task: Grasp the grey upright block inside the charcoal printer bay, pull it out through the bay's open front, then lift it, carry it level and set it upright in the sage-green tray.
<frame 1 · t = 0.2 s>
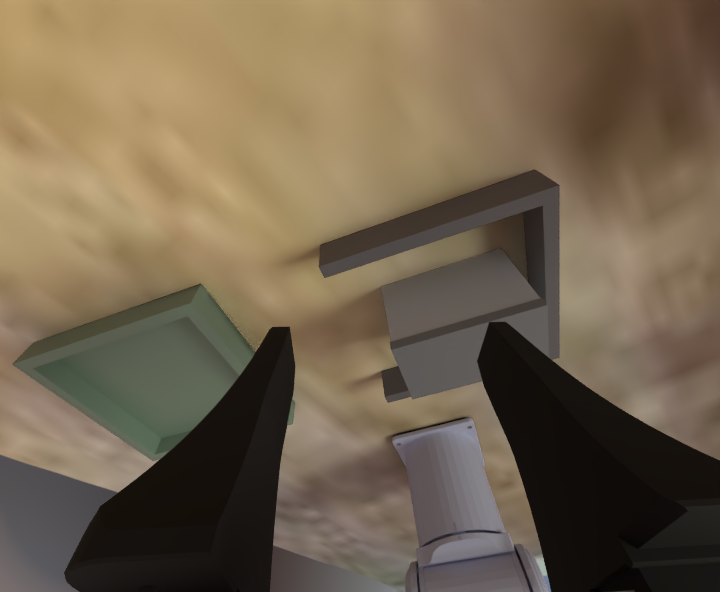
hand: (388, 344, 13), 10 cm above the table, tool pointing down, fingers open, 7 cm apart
grey upright block: (445, 292, 24), on the table
printer bay: (438, 296, 24), on the table
tray: (178, 376, 27), on the table
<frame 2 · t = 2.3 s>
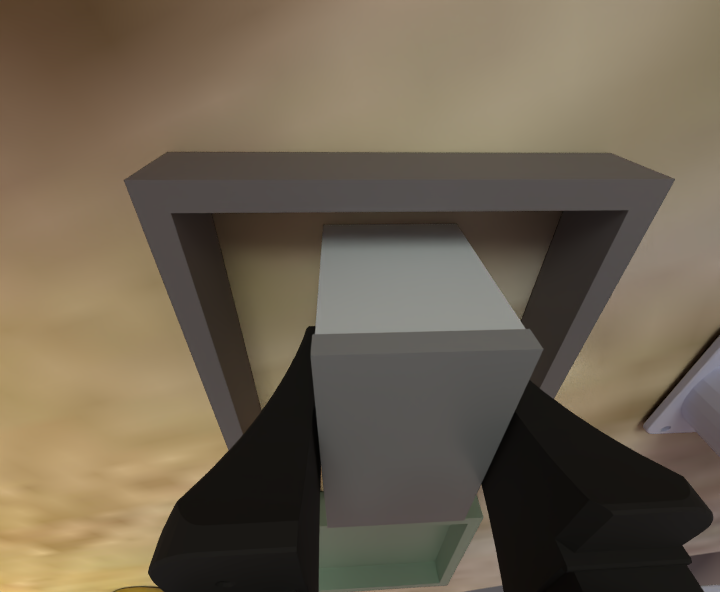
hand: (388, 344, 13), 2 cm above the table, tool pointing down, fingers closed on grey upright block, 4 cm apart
grey upright block: (383, 316, 14), on the table, touching gripper
printer bay: (383, 325, 14), on the table
tray: (368, 530, 27), on the table
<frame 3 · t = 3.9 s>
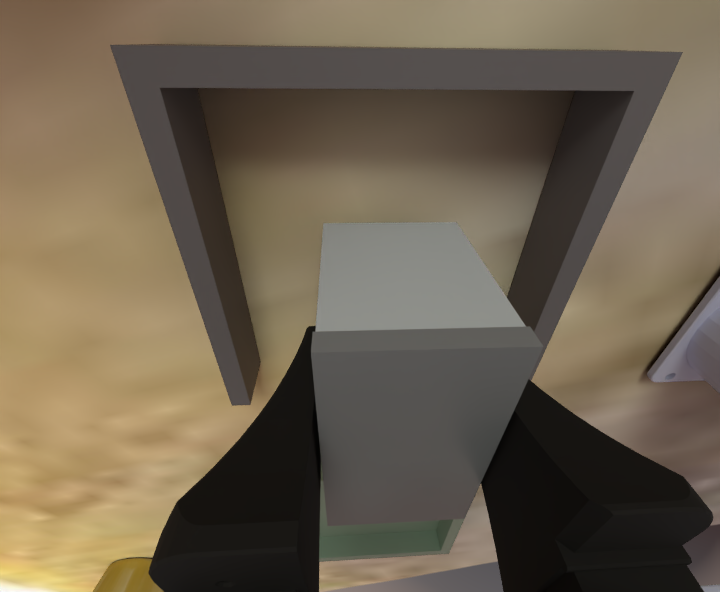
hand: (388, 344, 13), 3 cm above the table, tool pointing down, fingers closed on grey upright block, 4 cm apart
grey upright block: (383, 314, 14), point 1 cm above the table, touching gripper
plant pot: (147, 567, 33), on the table
printer bay: (382, 254, 14), on the table
tray: (368, 495, 26), on the table
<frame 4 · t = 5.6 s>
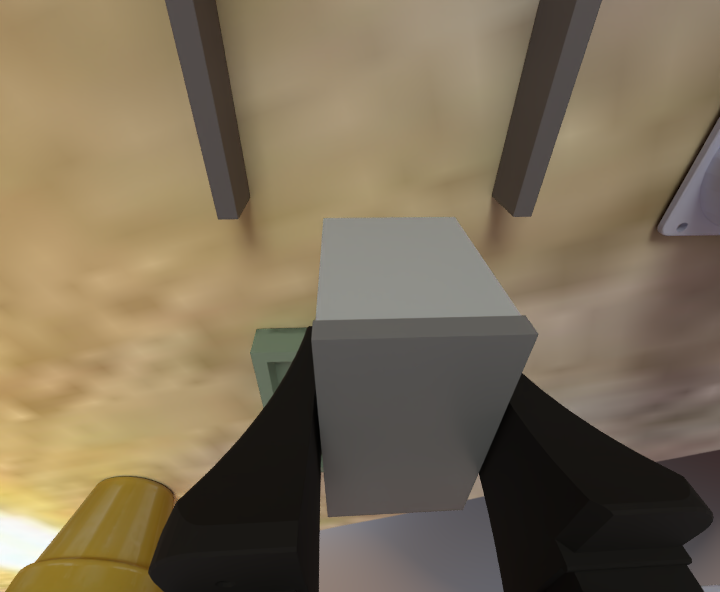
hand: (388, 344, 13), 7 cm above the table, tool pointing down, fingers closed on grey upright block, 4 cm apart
grey upright block: (383, 309, 14), point 5 cm above the table, touching gripper
plant pot: (136, 491, 32), on the table
printer bay: (379, 40, 13), on the table
tray: (365, 395, 25), on the table
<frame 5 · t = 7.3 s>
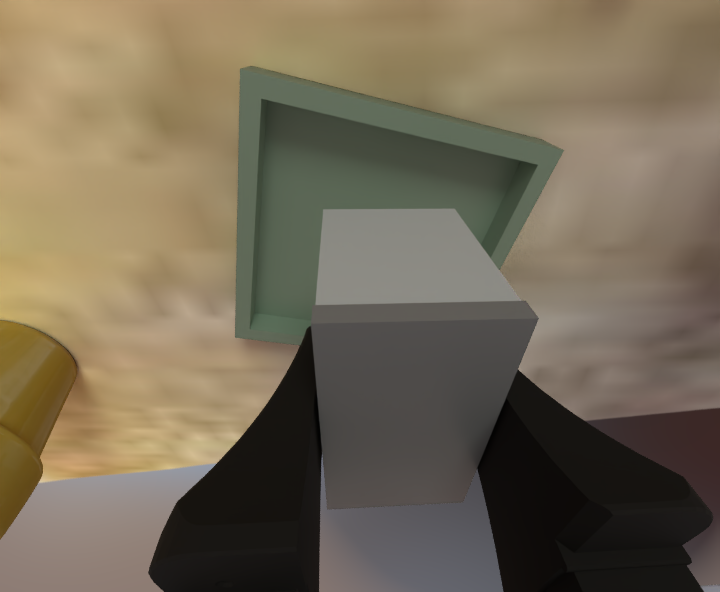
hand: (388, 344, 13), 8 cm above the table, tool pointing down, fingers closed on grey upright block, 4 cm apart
grey upright block: (383, 302, 14), point 6 cm above the table, touching gripper
plant pot: (23, 354, 23), on the table
tray: (371, 240, 19), on the table
when the fingers open (4 cm above the table, at t = 8.9 s): grey upright block drops 1 cm, resting on tray.
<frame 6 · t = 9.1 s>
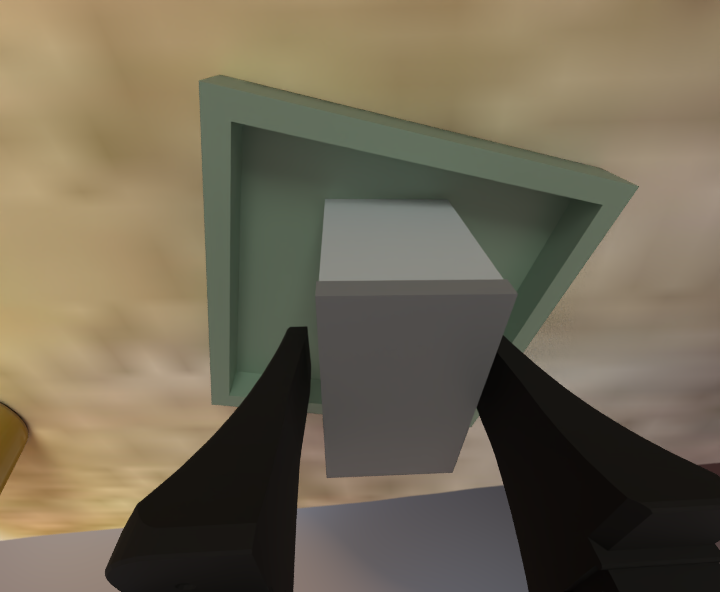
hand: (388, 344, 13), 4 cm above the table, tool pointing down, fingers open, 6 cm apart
grey upright block: (380, 288, 15), resting on tray
tray: (379, 288, 16), on the table
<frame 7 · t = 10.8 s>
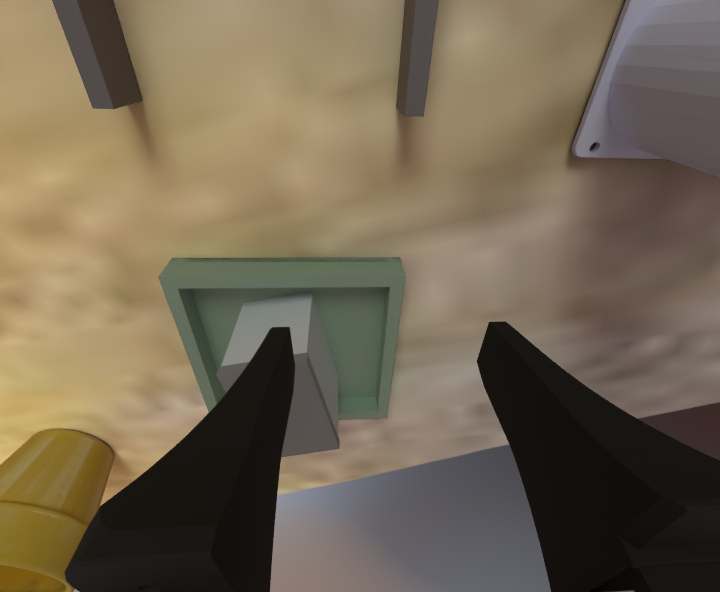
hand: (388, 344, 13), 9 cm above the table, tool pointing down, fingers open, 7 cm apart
grey upright block: (294, 342, 24), resting on tray
plant pot: (74, 447, 31), on the table
tray: (297, 340, 25), on the table
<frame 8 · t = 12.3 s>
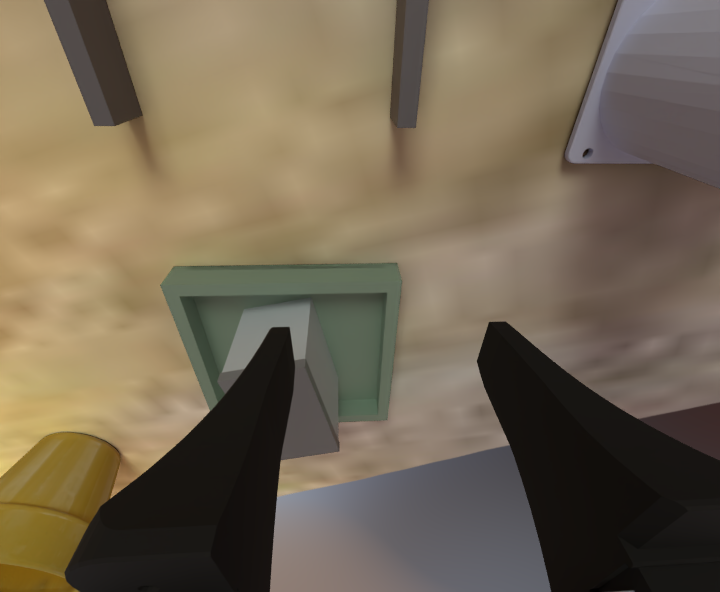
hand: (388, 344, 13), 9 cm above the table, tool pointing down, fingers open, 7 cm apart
grey upright block: (295, 346, 25), resting on tray
plant pot: (82, 450, 32), on the table
tray: (297, 344, 25), on the table
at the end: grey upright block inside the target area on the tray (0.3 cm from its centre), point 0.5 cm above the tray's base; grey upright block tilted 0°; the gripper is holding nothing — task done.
